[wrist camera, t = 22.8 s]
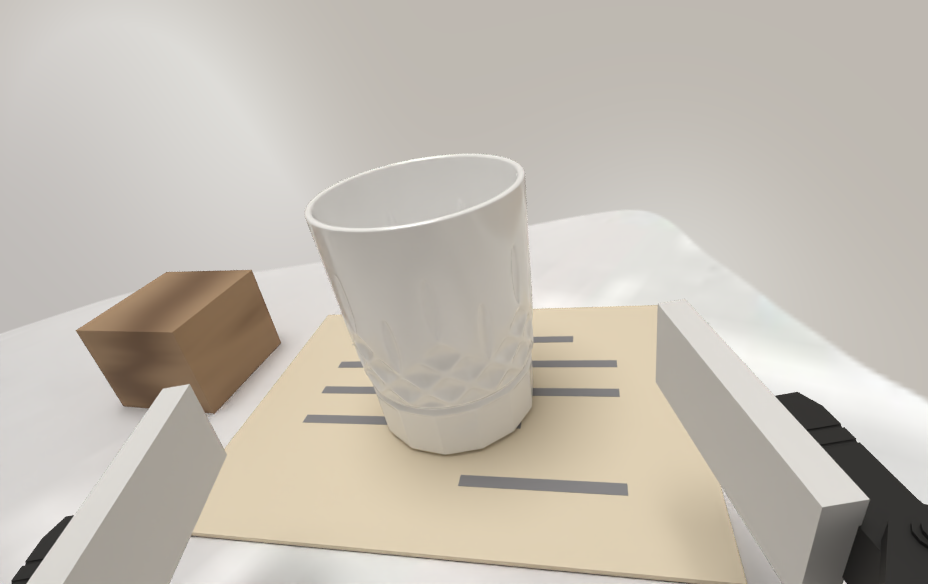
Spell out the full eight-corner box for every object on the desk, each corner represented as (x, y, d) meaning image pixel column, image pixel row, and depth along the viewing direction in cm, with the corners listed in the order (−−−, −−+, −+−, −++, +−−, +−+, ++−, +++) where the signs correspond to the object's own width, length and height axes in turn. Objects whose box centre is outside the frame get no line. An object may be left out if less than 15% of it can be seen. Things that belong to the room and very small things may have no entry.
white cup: (485, 498, 18) (433, 242, 14) (336, 429, 23) (257, 218, 18) (577, 370, 24) (563, 154, 19) (442, 334, 28) (402, 151, 23)
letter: (164, 533, 20) (161, 528, 19) (329, 317, 32) (328, 314, 32) (746, 588, 15) (747, 583, 14) (670, 307, 27) (671, 304, 27)
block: (124, 408, 27) (75, 330, 25) (200, 342, 32) (166, 272, 30) (215, 415, 26) (172, 332, 23) (281, 344, 31) (251, 270, 28)
